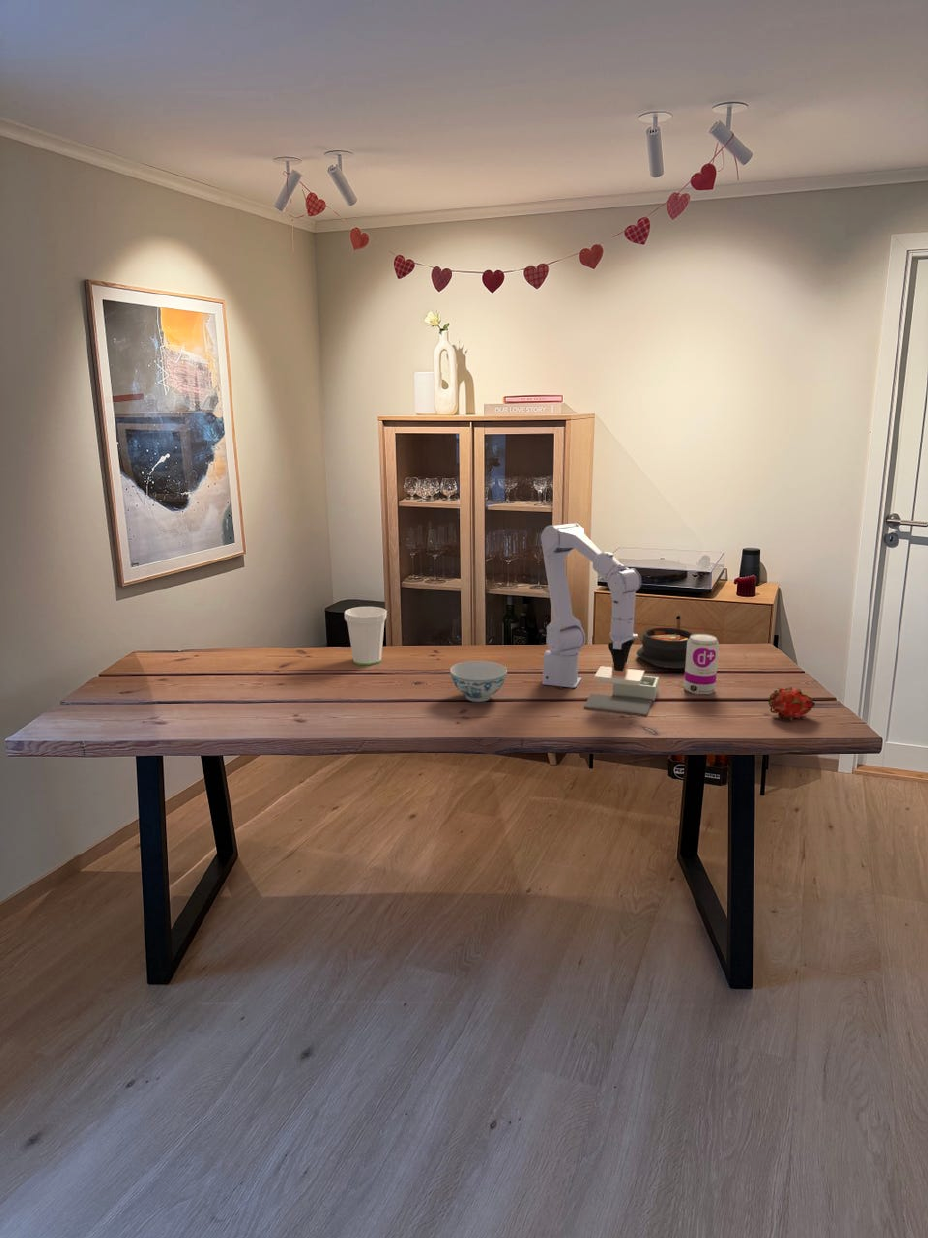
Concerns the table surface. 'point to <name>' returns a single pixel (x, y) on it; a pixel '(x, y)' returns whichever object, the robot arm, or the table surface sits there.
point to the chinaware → (478, 679)
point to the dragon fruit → (790, 703)
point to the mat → (618, 704)
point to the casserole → (665, 647)
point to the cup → (366, 633)
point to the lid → (619, 675)
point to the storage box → (638, 689)
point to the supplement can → (701, 664)
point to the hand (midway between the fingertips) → (620, 668)
